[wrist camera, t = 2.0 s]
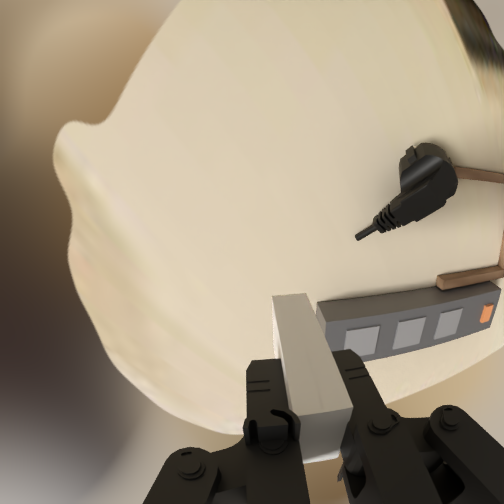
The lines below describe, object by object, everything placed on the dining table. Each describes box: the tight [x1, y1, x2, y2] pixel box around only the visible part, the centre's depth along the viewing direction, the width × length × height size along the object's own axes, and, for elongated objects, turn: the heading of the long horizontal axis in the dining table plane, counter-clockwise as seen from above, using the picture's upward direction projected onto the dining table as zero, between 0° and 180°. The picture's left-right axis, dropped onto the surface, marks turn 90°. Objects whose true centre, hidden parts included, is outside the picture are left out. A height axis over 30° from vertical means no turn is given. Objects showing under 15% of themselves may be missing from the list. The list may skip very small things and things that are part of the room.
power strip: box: [316, 281, 501, 362], centre depth 28 cm, size 6×26×5 cm, turn 94°
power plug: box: [355, 143, 458, 241], centre depth 24 cm, size 6×8×12 cm
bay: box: [436, 167, 504, 290], centre depth 26 cm, size 14×14×2 cm
